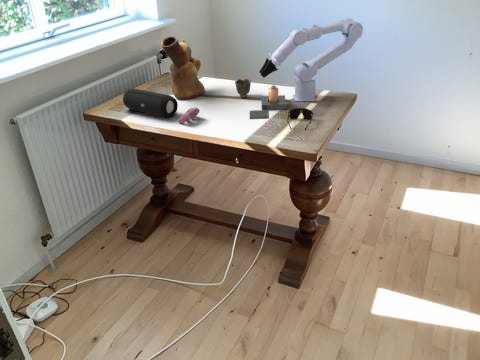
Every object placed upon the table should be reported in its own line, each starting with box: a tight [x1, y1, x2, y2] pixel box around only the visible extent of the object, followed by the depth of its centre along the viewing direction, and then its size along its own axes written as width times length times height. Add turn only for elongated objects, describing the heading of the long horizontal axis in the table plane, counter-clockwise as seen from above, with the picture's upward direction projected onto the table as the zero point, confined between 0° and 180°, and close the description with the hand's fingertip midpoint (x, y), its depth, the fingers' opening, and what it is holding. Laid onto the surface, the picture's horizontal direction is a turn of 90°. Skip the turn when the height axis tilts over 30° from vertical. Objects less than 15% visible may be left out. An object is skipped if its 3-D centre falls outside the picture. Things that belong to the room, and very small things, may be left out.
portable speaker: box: [122, 88, 179, 118], centre depth 200 cm, size 26×10×10 cm, turn 59°
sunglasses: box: [287, 107, 314, 131], centre depth 183 cm, size 10×12×5 cm
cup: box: [234, 78, 252, 99], centre depth 211 cm, size 8×7×8 cm
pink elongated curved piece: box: [177, 106, 201, 125], centre depth 191 cm, size 10×5×7 cm, turn 148°
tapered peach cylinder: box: [268, 84, 279, 102], centre depth 200 cm, size 4×4×9 cm
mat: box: [249, 109, 269, 120], centre depth 194 cm, size 8×8×1 cm
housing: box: [260, 94, 287, 111], centre depth 202 cm, size 11×11×2 cm
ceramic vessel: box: [160, 36, 206, 100], centre depth 210 cm, size 16×22×30 cm
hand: (261, 74), depth 198 cm, fingers open, 7 cm apart
